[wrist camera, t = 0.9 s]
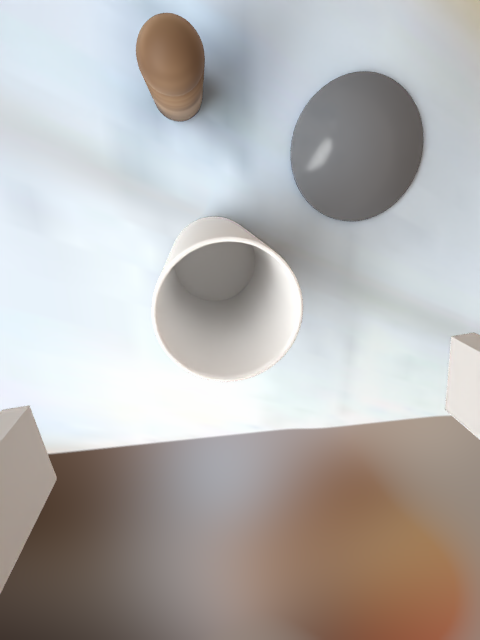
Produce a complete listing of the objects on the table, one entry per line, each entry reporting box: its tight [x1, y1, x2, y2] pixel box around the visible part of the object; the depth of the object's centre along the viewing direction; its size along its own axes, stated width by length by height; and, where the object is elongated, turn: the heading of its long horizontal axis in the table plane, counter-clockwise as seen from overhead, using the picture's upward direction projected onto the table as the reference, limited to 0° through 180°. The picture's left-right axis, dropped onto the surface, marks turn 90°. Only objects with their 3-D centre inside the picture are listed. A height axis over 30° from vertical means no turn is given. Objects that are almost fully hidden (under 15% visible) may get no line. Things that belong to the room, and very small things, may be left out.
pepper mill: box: [136, 13, 205, 121], centre depth 24 cm, size 4×4×10 cm
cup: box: [152, 217, 303, 382], centre depth 27 cm, size 8×8×16 cm
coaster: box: [291, 72, 423, 221], centre depth 32 cm, size 12×12×1 cm
